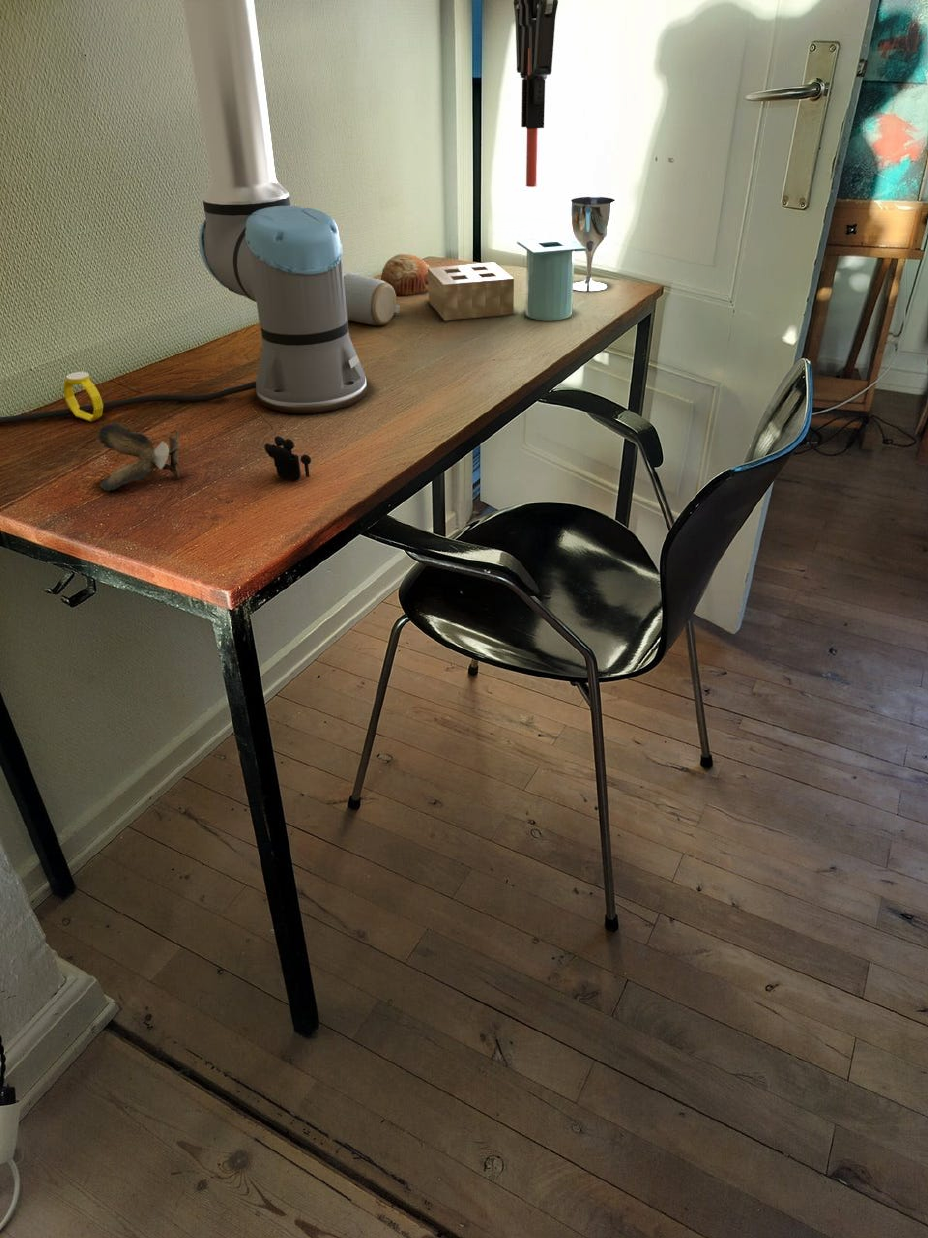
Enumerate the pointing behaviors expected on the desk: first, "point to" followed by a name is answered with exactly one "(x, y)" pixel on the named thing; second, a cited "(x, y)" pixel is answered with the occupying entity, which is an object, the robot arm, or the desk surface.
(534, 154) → the straw
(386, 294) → the ceramic mug
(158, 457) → the eagle figurine
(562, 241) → the lid
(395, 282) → the muffin
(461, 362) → the desk surface
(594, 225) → the wine glass
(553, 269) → the light blue pen holder
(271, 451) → the wireless earbuds
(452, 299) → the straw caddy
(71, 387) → the watch
